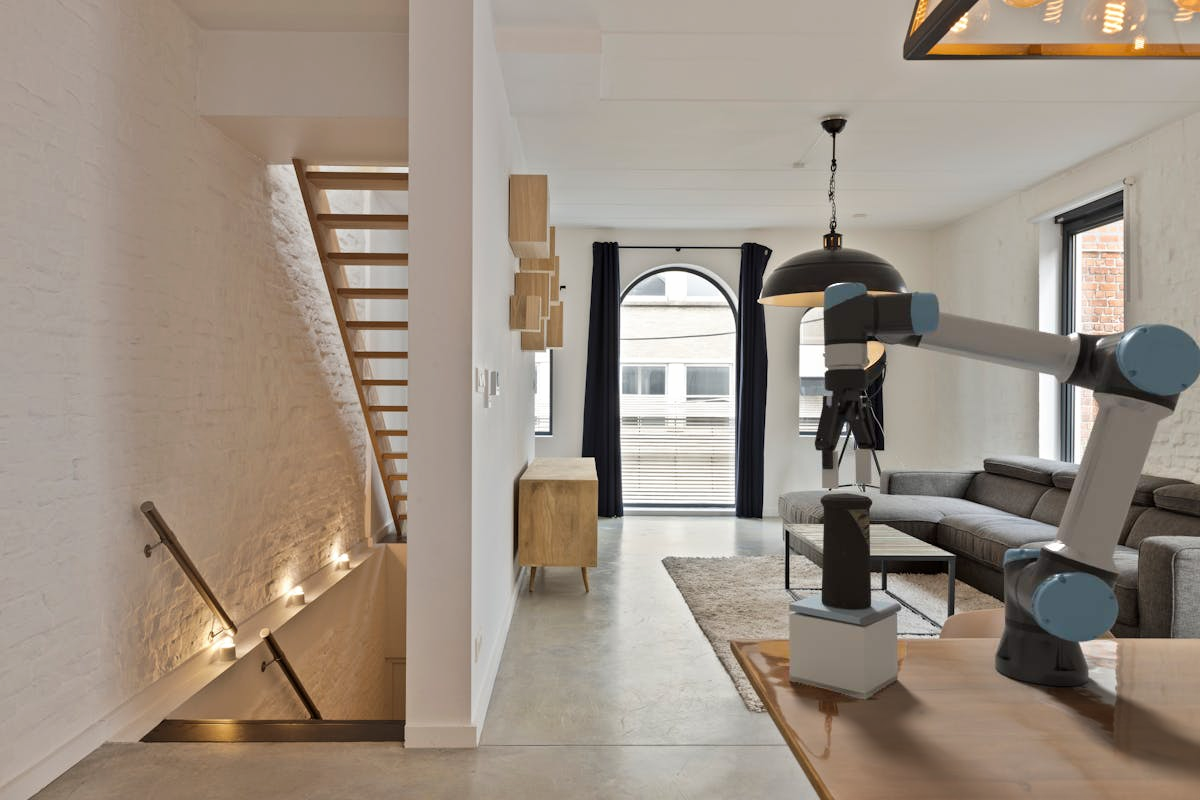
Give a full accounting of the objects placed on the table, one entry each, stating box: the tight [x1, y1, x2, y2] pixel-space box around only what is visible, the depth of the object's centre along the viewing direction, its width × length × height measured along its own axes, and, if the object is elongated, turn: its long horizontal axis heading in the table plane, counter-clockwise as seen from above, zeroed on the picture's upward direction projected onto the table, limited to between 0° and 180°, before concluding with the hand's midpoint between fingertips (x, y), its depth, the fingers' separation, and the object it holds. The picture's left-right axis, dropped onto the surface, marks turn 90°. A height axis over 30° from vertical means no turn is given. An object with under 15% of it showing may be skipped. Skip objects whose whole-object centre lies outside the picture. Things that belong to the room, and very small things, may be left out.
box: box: [788, 611, 899, 701], centre depth 140 cm, size 14×14×12 cm
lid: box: [788, 592, 902, 626], centre depth 140 cm, size 15×14×1 cm
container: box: [820, 492, 873, 609], centre depth 140 cm, size 9×9×20 cm
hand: (847, 486), depth 140 cm, fingers open, 13 cm apart
